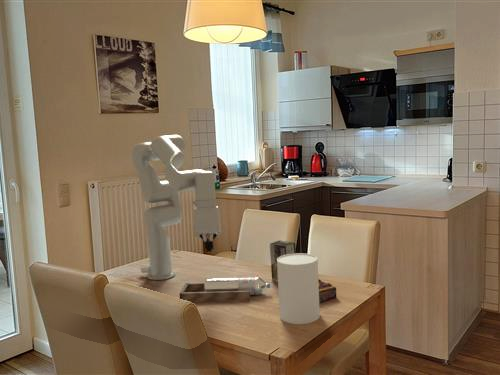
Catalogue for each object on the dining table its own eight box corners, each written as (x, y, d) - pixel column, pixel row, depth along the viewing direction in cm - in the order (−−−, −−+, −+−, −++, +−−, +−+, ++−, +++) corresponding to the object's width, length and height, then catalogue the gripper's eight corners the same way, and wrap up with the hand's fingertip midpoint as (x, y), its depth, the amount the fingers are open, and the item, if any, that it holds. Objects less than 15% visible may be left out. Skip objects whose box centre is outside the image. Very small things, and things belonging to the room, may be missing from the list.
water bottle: (204, 296, 189) (269, 295, 187) (203, 278, 190) (268, 276, 188) (207, 295, 195) (270, 294, 193) (206, 278, 196) (269, 276, 195)
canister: (323, 322, 162) (321, 262, 159) (282, 325, 161) (279, 265, 158) (315, 307, 175) (312, 252, 173) (277, 310, 174) (274, 255, 172)
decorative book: (313, 287, 196) (312, 275, 195) (339, 299, 182) (338, 286, 181) (289, 294, 191) (288, 281, 190) (314, 306, 177) (313, 293, 176)
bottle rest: (180, 302, 187) (179, 293, 187) (186, 291, 199) (185, 283, 199) (250, 300, 185) (249, 291, 185) (252, 289, 197) (251, 281, 197)
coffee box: (297, 280, 205) (296, 242, 203) (287, 284, 201) (285, 246, 199) (281, 276, 212) (279, 239, 209) (271, 280, 207) (269, 243, 205)
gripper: (184, 206, 184) (188, 254, 187) (224, 204, 183) (227, 252, 186) (188, 202, 192) (191, 249, 194) (226, 201, 191) (229, 247, 193)
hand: (209, 250), depth 190 cm, fingers closed
